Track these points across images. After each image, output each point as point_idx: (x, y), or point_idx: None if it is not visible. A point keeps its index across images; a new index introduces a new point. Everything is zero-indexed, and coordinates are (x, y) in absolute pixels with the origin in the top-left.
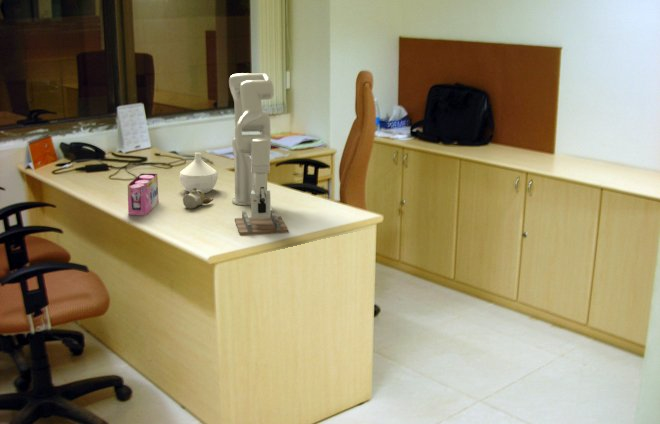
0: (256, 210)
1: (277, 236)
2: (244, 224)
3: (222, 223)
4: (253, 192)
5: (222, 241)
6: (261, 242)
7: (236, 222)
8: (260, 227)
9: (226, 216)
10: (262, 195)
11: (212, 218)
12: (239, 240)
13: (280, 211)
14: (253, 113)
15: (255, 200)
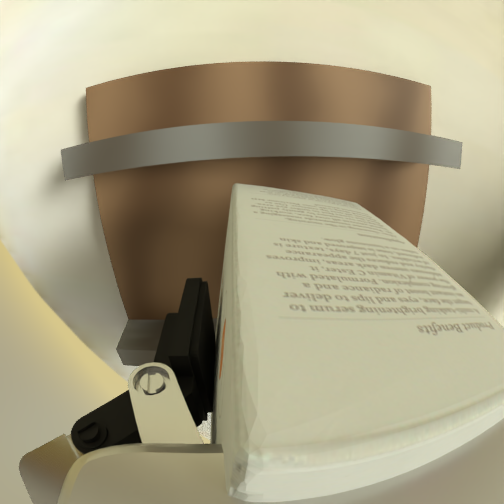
0: (224, 269)
1: (86, 304)
2: (277, 118)
3: (376, 6)
4: (387, 475)
5: (23, 27)
6: (4, 223)
7: (338, 68)
8: (185, 233)
9: (483, 77)
10: (36, 496)
11: (456, 3)
12: (19, 107)
13: None
14: None
15: (222, 362)
